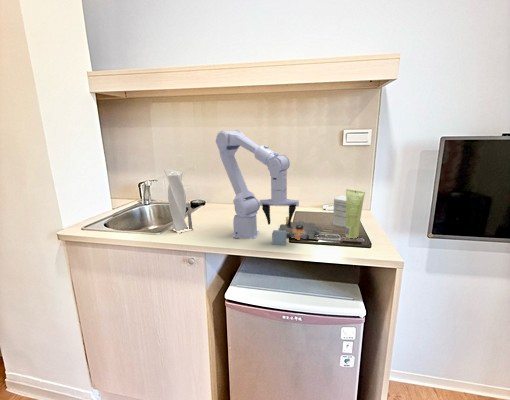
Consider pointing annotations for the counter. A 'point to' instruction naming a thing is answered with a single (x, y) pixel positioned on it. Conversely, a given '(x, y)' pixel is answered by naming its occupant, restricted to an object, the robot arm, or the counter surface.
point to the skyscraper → (177, 201)
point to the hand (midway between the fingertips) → (279, 223)
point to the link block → (278, 237)
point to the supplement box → (339, 211)
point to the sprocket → (300, 229)
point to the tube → (353, 212)
